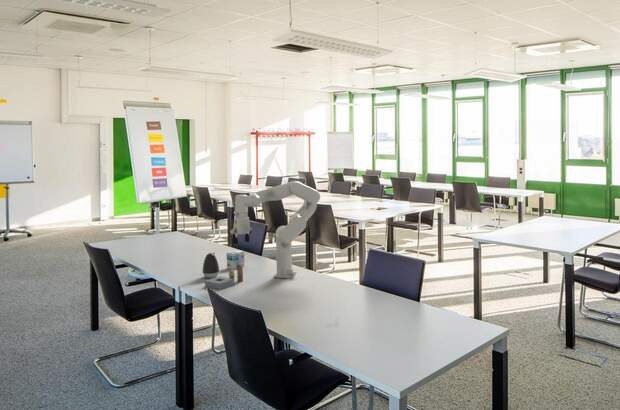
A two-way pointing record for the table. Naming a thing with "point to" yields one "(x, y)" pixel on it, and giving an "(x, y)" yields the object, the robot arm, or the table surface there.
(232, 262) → the light bulb box
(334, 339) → the table surface
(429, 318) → the table surface
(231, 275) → the short pin
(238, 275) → the long pin
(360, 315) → the table surface
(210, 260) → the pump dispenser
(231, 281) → the block
